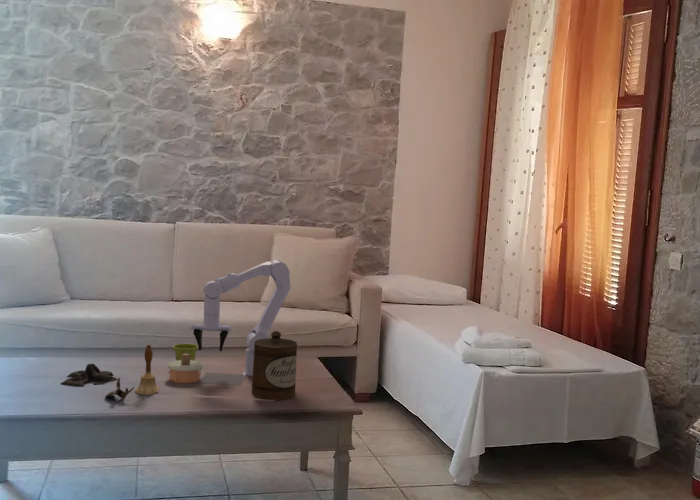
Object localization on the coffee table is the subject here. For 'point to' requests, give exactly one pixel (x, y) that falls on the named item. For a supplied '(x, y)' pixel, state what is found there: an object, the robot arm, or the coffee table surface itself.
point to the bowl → (185, 376)
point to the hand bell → (147, 376)
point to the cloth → (89, 377)
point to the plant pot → (185, 350)
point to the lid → (185, 364)
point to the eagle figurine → (119, 391)
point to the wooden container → (274, 368)
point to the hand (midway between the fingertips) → (210, 350)
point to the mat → (222, 379)
